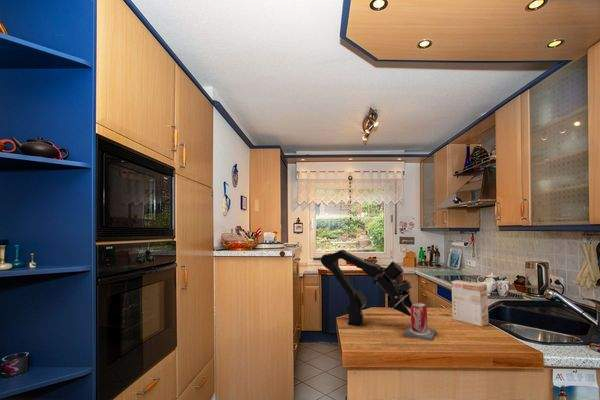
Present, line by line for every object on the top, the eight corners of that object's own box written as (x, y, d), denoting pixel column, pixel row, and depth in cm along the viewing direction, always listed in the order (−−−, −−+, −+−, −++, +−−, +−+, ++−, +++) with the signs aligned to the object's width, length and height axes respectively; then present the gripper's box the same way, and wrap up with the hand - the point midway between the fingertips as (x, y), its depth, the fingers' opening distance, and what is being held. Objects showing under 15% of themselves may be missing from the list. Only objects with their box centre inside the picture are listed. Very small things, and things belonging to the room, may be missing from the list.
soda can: (430, 333, 149) (429, 305, 150) (416, 334, 148) (415, 306, 149) (422, 328, 156) (421, 301, 157) (408, 329, 155) (407, 302, 155)
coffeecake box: (489, 324, 165) (487, 283, 166) (481, 327, 161) (479, 285, 162) (459, 316, 177) (458, 279, 178) (452, 319, 173) (450, 281, 174)
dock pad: (403, 335, 150) (403, 332, 150) (409, 328, 160) (409, 325, 161) (431, 340, 144) (431, 337, 144) (436, 332, 154) (436, 329, 154)
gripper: (394, 278, 150) (421, 306, 144) (405, 272, 166) (429, 297, 159) (377, 294, 153) (402, 322, 147) (389, 286, 169) (412, 311, 163)
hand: (412, 312), depth 154 cm, fingers open, 9 cm apart
